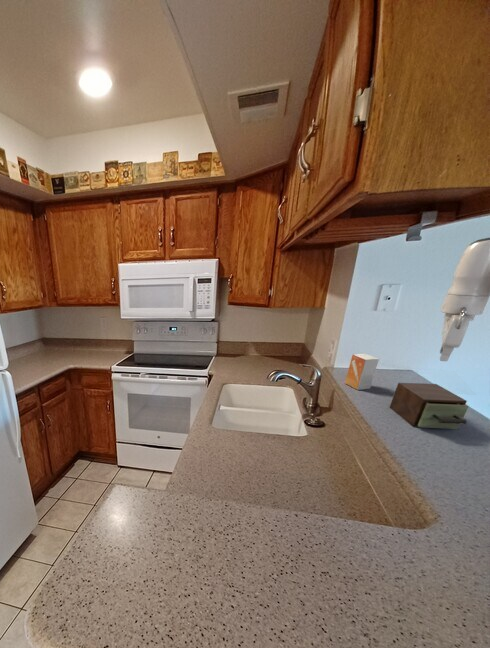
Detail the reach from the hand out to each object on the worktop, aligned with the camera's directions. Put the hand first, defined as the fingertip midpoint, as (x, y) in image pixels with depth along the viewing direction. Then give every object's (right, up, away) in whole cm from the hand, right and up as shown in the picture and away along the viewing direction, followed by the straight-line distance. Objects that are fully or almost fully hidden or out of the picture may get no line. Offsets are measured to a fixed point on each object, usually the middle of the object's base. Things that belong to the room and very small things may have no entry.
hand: (443, 356), depth 95 cm
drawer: (+7, -18, +14) cm, 24 cm away
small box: (+2, -2, +46) cm, 46 cm away
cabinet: (+8, -17, +19) cm, 26 cm away
